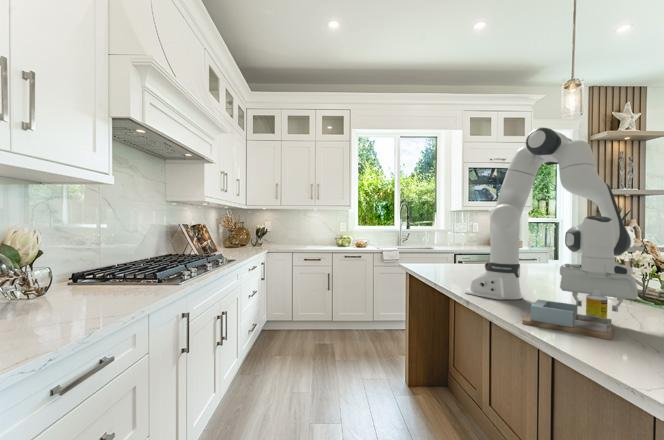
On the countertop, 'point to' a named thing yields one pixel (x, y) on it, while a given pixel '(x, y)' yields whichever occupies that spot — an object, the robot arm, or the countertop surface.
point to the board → (580, 326)
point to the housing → (553, 312)
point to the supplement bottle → (596, 305)
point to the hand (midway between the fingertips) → (596, 308)
